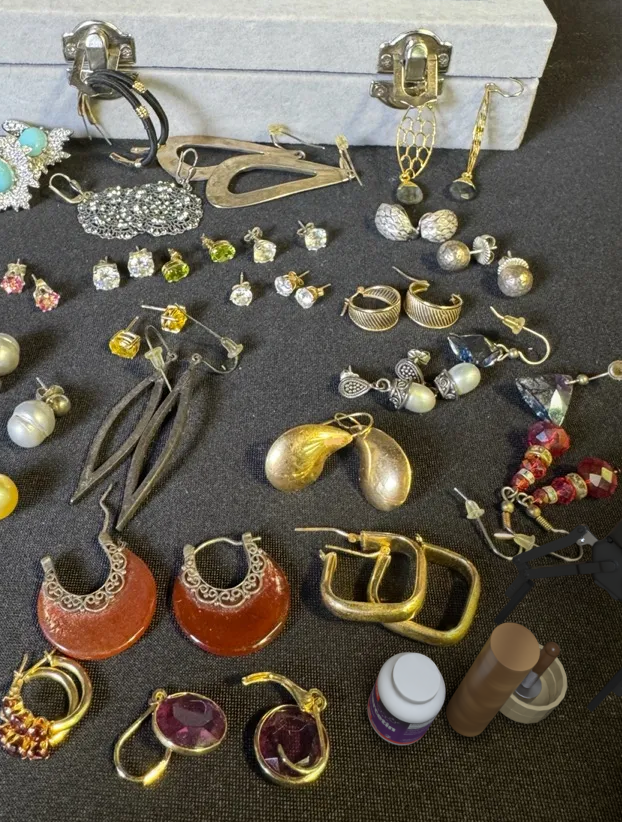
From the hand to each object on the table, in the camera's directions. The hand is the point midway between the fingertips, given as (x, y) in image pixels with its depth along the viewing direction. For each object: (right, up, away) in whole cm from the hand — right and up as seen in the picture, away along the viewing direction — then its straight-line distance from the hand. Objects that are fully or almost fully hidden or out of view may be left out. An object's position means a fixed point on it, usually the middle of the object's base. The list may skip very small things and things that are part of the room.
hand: (542, 662), depth 98 cm
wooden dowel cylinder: (-8, -9, +6) cm, 13 cm away
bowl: (0, -7, +8) cm, 10 cm away
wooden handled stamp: (0, -6, +8) cm, 10 cm away
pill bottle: (-17, -9, +6) cm, 20 cm away
